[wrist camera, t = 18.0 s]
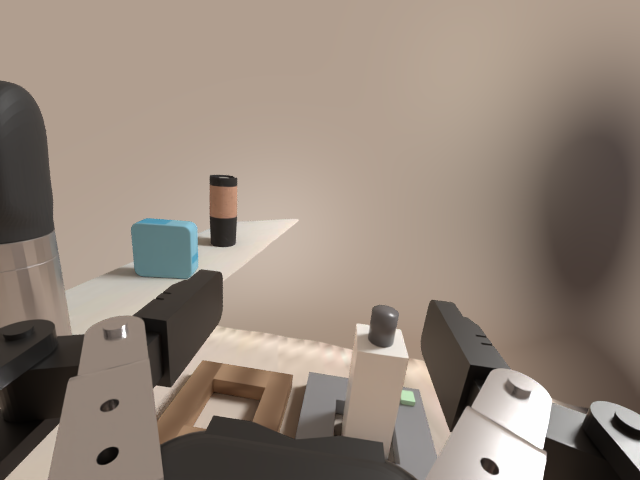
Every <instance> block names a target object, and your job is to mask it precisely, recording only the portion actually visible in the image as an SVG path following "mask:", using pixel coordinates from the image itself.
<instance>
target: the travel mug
mask: <svg viewBox="0 0 640 480" xmlns="http://www.w3.org/2000/svg"><path fill="white" fill-rule="evenodd" d="M236 225H237V178H234V177H233V176H228V175H210V232H211V244H212V245H214V246H218V247H229V246H233V245H235V243H236Z"/></svg>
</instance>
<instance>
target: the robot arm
mask: <svg viewBox="0 0 640 480" xmlns="http://www.w3.org/2000/svg"><path fill="white" fill-rule="evenodd" d="M222 310H223V277H222V273H221V272H218V271H210V270H202V269H201V270H199V271H198V272H197V273H195V274H194V275H193V276H192V277H191V278H189V279H188V280H183V281H181V282H178V283H176V284H173V285H172V286H170V287H169V288H168V289H166V290H165V291H164V292H163V293H161V294H160V295H159V296H157V297H156V299H154V300H152V301H151V302H150V303H148V304H147V305H146V306H144V307H143V308H142V309H141V310H139V311H138V312H137V313H135V314H134V315H133V316H117V317H112V318H109V319H105V320H103V321H100V322H98V323H96V324H94V325H93V326H91V327H90V328H89V329H88V330H87V331H86V333H85V334H83V335H72V332H71V326H70V319H69V313H68V307H67V301H66V295H65V289H64V283H63V278H62V272H61V265H60V259H59V253H58V248H57V242H56V235H55V228H54V222H53V195H52V188H51V180H50V170H49V158H48V146H47V136H46V129H45V125H44V121H43V117H42V114H41V111H40V109H39V107H38V105H37V103H36V101H35V100H34V98H33V97H32V96H31V95H30V94H29V92H27V91H26V90H25V89H24V88H22V87H21V86H19V85H16V84H14V83H10V82H6V81H0V480H4V479H5V478H6V477H7V476H8V475H9V474H10V473H11V472H12V471H13V470H14V469H15V468H16V467H17V466H18V465H19V464H20V463H21V462H22V461H23V460H24V459H25V458H26V457H27V456H28V455H29V454H30V453H31V451H32V450H33V449H34V448H35V447H36V446H37V445H38V444H39V443H40V442H41V441H42V440H43V439H44V438H45V437H46V436H47V435H48V434H49V433H50V432H51V431H52V430H53V429H54V428H55V427H56V426H57V425H58V424H59V428H58V433H57V438H56V443H55V447H54V452H53V457H52V462H51V467H50V472H49V477H48V480H418V479H417V478H415V477H414V476H413V475H412V474H410V473H409V472H407V471H406V470H405V469H403V468H402V467H400V466H398V465H396V464H394V463H393V462H391V461H389V460H386V459H385V455H384V447H383V442H377V441H371V440H365V439H358V438H352V437H346V436H330V437H319V438H307V439H293V438H290V437H288V436H285V435H283V434H281V433H278V432H276V431H274V430H272V429H269V428H267V427H265V426H262V425H260V424H258V423H255V422H251V421H245V420H239V419H232V418H226V417H220V416H213V418H212V420H211V421H210V423H209V425H208V427H207V429H206V430H204V431H197V432H192V433H188V434H184V435H181V436H178V437H176V438H173V439H171V440H168V441H166V442H164V443H162V444H160V443H159V435H158V426H157V418H156V410H155V402H154V394H153V388H154V387H155V386H156V385H158V386H164V387H172V385H173V384H174V383H175V381H176V380H177V379H178V377H179V376H180V375H181V373H182V372H183V371H184V369H185V368H186V367H187V365H188V364H189V363H190V361H191V360H192V358H193V357H194V356H195V354H196V353H197V352H198V350H199V349H200V348H201V346H202V345H203V344H204V342H205V341H206V340H207V338H208V337H209V336H210V334H211V333H212V332H213V330H214V329H215V327H216V326H217V325H218V323H219V321H220V319H221V315H222ZM421 351H422V355H423V357H424V360H425V363H426V366H427V369H428V371H429V374H430V377H431V380H432V383H433V385H434V388H435V391H436V394H437V397H438V399H439V402H440V405H441V408H442V411H443V413H444V416H445V419H446V422H447V425H448V427H449V430H450V432H452V433H451V435H450V436H449V438H448V440H447V442H446V443H445V445H444V447H443V449H442V450H441V452H440V454H439V456H438V457H437V459H436V461H435V463H434V464H433V466H432V468H431V470H430V471H429V473H428V475H427V477H426V479H425V480H640V415H639V414H637V413H635V412H633V411H631V410H629V409H627V408H625V407H622V406H620V405H617V404H613V403H610V402H604V401H597V402H594V403H592V404H591V406H590V408H589V410H588V412H587V414H583V413H580V412H577V411H575V410H572V409H569V408H566V407H563V406H560V405H557V404H555V403H552V400H551V397H550V395H549V394H548V392H547V391H546V390H545V389H544V388H543V387H542V386H541V385H540V384H539V383H537V382H536V381H534V380H533V379H531V378H530V377H528V376H526V375H524V374H522V373H519V372H517V371H514V370H511V369H510V368H509V366H508V365H507V364H506V362H505V361H504V360H503V358H502V357H501V356H500V354H499V353H498V351H497V350H496V349H495V347H494V346H492V343H491V342H490V340H489V339H488V338H486V335H485V334H484V332H483V331H482V329H481V328H480V327H479V326H478V325H477V324H475V323H474V322H473V321H471V320H470V319H468V318H466V317H463V316H462V314H461V313H460V311H459V310H458V308H457V307H456V305H455V304H454V303H452V302H445V301H438V300H431V301H430V303H429V306H428V311H427V315H426V319H425V323H424V328H423V332H422V337H421Z"/></svg>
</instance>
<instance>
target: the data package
mask: <svg viewBox="0 0 640 480" xmlns="http://www.w3.org/2000/svg"><path fill="white" fill-rule="evenodd" d="M131 235H132V246H133V257H134V269H135V272H136V273H137V274H138V275H140V276H144V277H162V278H181V279H187V278H189V277H190V276H191V275H192V274H193V273H194V272H195V271H196V269H197V268H198V239H197V227H196V225H195V224H194V223H193V222H190V221H176V220H164V219H150V218H149V219H148V218H147V219H144V220H141V221H139V222H137V223H135V224H133V225H132V227H131Z"/></svg>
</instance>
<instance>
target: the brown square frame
mask: <svg viewBox="0 0 640 480" xmlns="http://www.w3.org/2000/svg"><path fill="white" fill-rule="evenodd" d="M292 378H293V375H290V374H284V373H278V372H271V371H265V370H259V369H253V368H247V367H241V366H235V365H229V364H222V363H216V362H210V361H204V360H202V362H201V363H200V364H199V366H198V367H197V368H196V370H195V371H194V372H193V374H192V375H191V377H190V378H189V379H188V381H187V382H186V383H185V385H184V386H183V387H182V389H181V390H180V391H179V393H178V394H177V395H176V397H175V398H174V399H173V401H172V402H171V403H170V405H169V406H168V407H167V409H166V410H165V411H164V413H163V414H162V415H161V417H160V418H159V419H158V421H157V426H158V435H159V443H160V444H162V443H164V442H166V441H168V440H171V439H173V438H176V437H178V436H181V435H184V434H188V433H192V432H197V431H204V430H206V429H203V428H197V427H193V425H194V423H195V422H196V420H197V418H198V417H199V415H200V413H201V412H202V410H203V408H204V407H205V405H206V403H207V402H208V400H209V398H210V397H211V395H212V393H213V392H216V393H221V394H227V395H233V396H239V397H245V398H251V399H256V400H260V403H259V406H258V408H257V411H256V413H255V416H254V418H253V421H252V422H255V423H258V424H260V425H262V426H265V427H267V428H269V429H272V430H274V431H276V432H278V433H279V432H280V428H281V425H282V421H283V418H284V414H285V410H286V407H287V403H288V399H289V396H290V392H291V389H292Z"/></svg>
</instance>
